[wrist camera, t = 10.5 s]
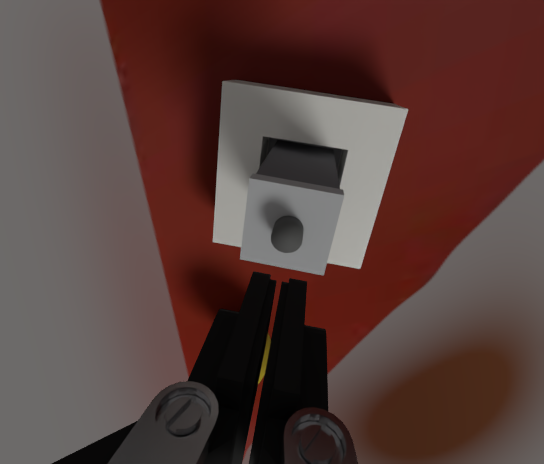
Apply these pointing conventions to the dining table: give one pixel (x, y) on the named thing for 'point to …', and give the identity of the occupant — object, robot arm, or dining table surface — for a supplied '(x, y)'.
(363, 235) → the socket
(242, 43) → the dining table surface
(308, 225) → the plug
